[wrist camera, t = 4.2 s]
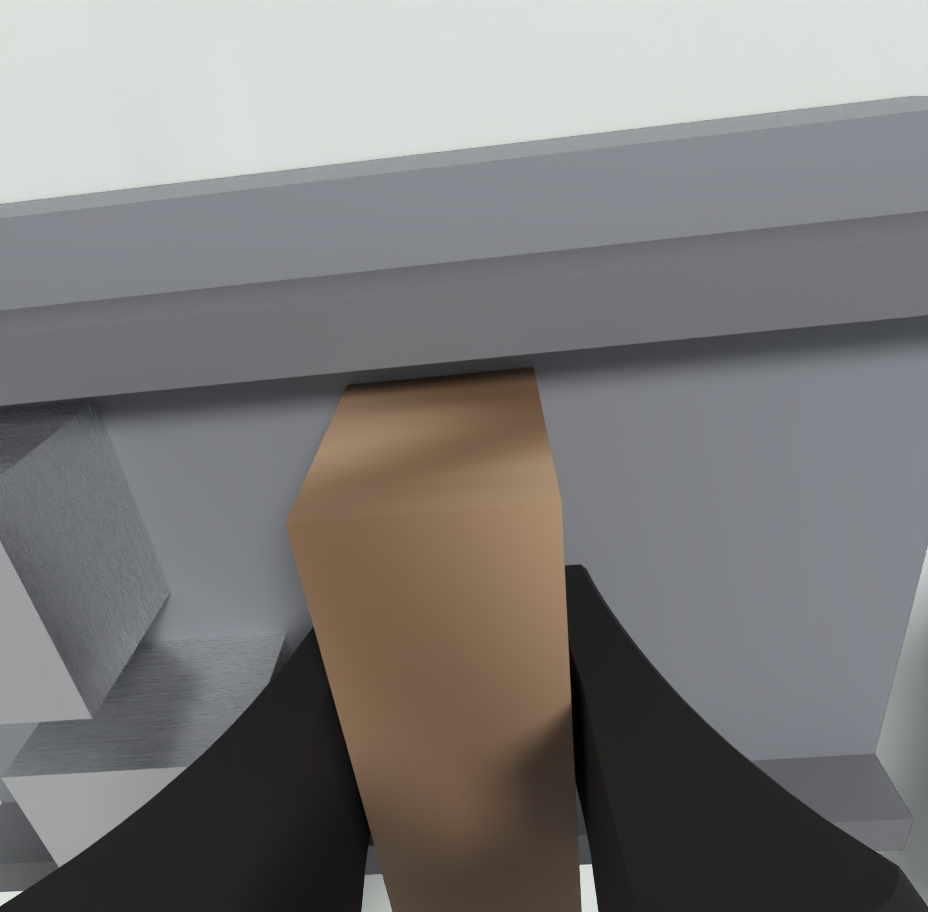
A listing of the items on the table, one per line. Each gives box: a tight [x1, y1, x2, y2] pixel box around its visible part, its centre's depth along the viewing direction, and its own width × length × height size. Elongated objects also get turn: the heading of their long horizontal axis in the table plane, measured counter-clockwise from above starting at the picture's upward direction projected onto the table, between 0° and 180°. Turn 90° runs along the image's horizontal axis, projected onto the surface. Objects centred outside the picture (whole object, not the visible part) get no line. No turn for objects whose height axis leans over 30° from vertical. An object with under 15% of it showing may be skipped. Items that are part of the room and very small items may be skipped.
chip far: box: [1, 632, 293, 867], centre depth 13 cm, size 4×4×3 cm
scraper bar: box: [285, 367, 582, 912], centre depth 11 cm, size 3×9×4 cm, turn 6°
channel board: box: [0, 96, 928, 892], centre depth 14 cm, size 20×15×4 cm
